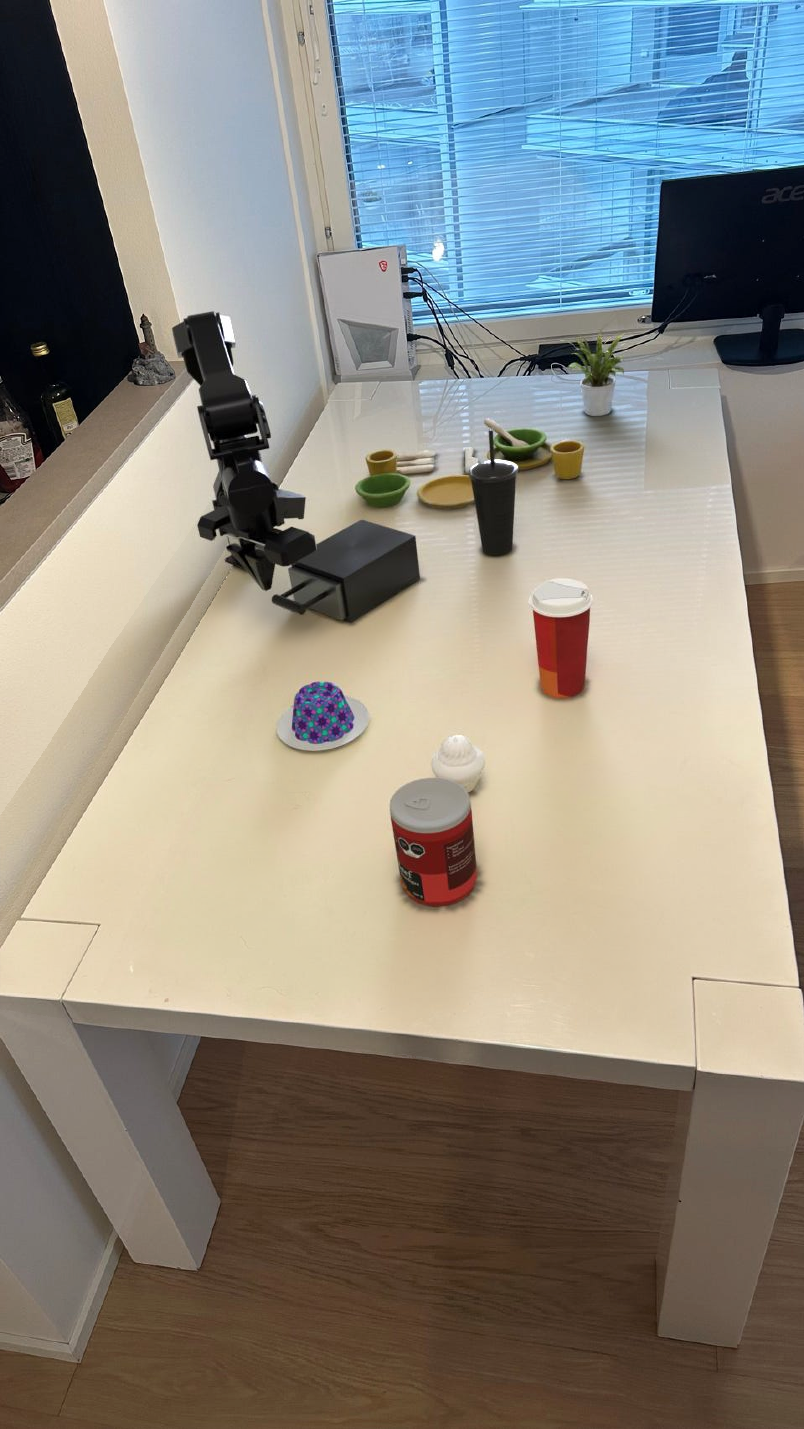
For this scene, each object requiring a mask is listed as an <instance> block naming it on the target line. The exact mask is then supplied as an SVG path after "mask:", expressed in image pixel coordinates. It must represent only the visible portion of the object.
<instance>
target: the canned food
mask: <svg viewBox="0 0 804 1429" xmlns="http://www.w3.org/2000/svg"><path fill="white" fill-rule="evenodd" d="M389 814H390V822H391V828H392V829H391V830H392V835H393V840H394V841H393V842H394V848H395V852H396V858H397V865H398V871H399V877H400V884H401V886H402V888H403V890H404V891H405V893H406V894H407V896H408V897H410V898H411V899H412V900H413V901H414V902H416V903H419V904H422V905H425V906H430V907H444V906H449V905H453V904H456V903H458V902H460V901H462V900H464V899H465V898H466V897H468V895H470V893H471V892H472V891H473V889H474V886H475V884H476V881H477V878H478V870H477V869H478V868H477V857H476V845H475V834H474V822H473V820H474V819H473V811H472V802H471V799H470V795H469V792H468V793H467V791H466V790H465V789H464V788H463V787H462V786H461V785H459V784H458V783H456V782H454V781H451V780H448V779H444V778H437V777H424V778H419V779H415V780H412V781H410V782H407V783H406V784H405V783H404V784H403V785H402V786H400V787H399V788H398V789H397V790H396V791H395V792H394V793H393V795H392V796H391V798H390V801H389Z"/></svg>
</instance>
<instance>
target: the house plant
mask: <svg viewBox="0 0 804 1429" xmlns="http://www.w3.org/2000/svg"><path fill="white" fill-rule="evenodd" d="M602 331H603V329H600V331H599V333H598V335H597V340H596V347H595V353H592V352H591V350H590V346H589V343H588V342H587V340H586V339H585V337H583V336H581V335H578V334H577V335H578V336H577V337H576V339H575V341H576V343H577V344H579V347H580V348H575V349H574V351H578V352H579V353H578V352H574V353H572V355H573V354H574V355H576V356H577V357H579V359H580V360H581V362H582V363H583V365H584V366H583V365H582V364H580V363H578V362H572V363H570V364H569V365H568V368H572V369H571V371H572V370H573V371H574V370H577V372H579V371H581V372H582V373H583V374H584V375H585V378H583V379H581V380H580V382H579V385H580V390H581V396H582V403H583V408H584V413H585V414H586V415H587V416H591V417H601V416H605V415H606V416H607V415H608V414H610V412H611V410H612V405H613V398H614V393H615V386H616V374H617V372H616V371H615V370H617V371H619V372H621V373H622V374H623V375H625V370H624V368H623V367H621V366H616V365H618V364H620V363H622V362H623V363H624V362H625V361H624V360H623V356H616V357H612V356H613V354H614V353H615V348H616V347H617V346H618V344H619V342H620V340H621V338H622V337H623V336H624V335H625V334H626V332H624V333H621V334H620V335H617V337H616V338H615V339H614V340H613V341H612V343H611V344H610V345H609V347H608V348H607V350H604V351H603V347H604V346H605V345H606V343H607V342H608V341H609V340H610V339H611V338H612V337H613V335H611V336H610V337H608V338H607V339H606V340H605V342H604V343H603V340H602V337H601V334H602ZM578 337H580V338H582V339H583V341H584V343H583V341H582V340H581V339H580V338H578ZM557 341H559V342H566V343H569V344H570V345H573V346H574V344H573V343H572V342H570V341H567V340H563V339H557ZM626 344H627V342H625V343H622V344H621V345H619V346H618V347H617V349H619V348H620V347H622V346H623V345H626ZM580 351H581V352H583V353H584V354H585V356H586V357H584V356H583V354H582V353H581V352H580ZM586 359H587V360H586ZM610 375H613V376H614V377H612V376H610Z"/></svg>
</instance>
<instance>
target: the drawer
mask: <svg viewBox="0 0 804 1429" xmlns="http://www.w3.org/2000/svg"><path fill="white" fill-rule="evenodd" d="M287 571H288V576H289V582H290V587H291V588H289V589H288V590H287V591H285V592H283V593H281V594H277V593H275V594H273V595H272V597H271V603H272V604H273V605H275V606H278V607H281V608H283V609H285V610H288V611H290V612H292V613H295V614H297V615H300V616H303V615H304V614H306V611H307V609H311V610H314V611H316V612H318V613H322V614H323V615H326V616H328V617H332V618H334V619H337V620H339V621H344V620H343V619H345V618H346V617H347V615H346V609H345V603H344V596H343V590H342V584H341V583H340V582H337V581H335V580H332V579H329V578H326V577H324V576H321V575H319V574H318V573H315V572H313V571H310V570H307V569H302V568H299V567H296V566H289V567H288V568H287ZM290 596H292V597H293V600H292V599H290V598H288V597H290Z"/></svg>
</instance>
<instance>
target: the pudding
mask: <svg viewBox="0 0 804 1429" xmlns="http://www.w3.org/2000/svg"><path fill="white" fill-rule="evenodd" d="M369 722H370V712H369V709H368V707H367V706H366V705H365V703H363V702H362V701H360V700H359V699H357V698H355V697H352V696H350V695H345V694H344V692H343V691H342V689H341V688H340V687H339V686H338V685H335V684H334V683H333V682H331V681H313V682H311V683H310V684H305V685H303V686H301V688H300V689H299V690H298V692H297V693H296V694H295V695H294V698H293V704H292V705H291V706H290V707H288V708H287V709H286V710H285V711H284V712H282V714H280V717H279V718H278V719H277V722H276V728H275V729H276V734H277V736H278V738H279V739H280V740H281V741H282V742H283V744H286V745H287V746H289V747H291V748H294V749H298V750H302V751H311V752H312V751H324V750H325V751H326V750H330V749H334V748H337V747H341V746H343V745H346V744H348V743H350V742H352V741H353V740H355V739H356V738H358V737H359V736H360V735H361V734H362V733H363V732H364V731H365V730H366V729H367V727H368V725H369Z"/></svg>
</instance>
